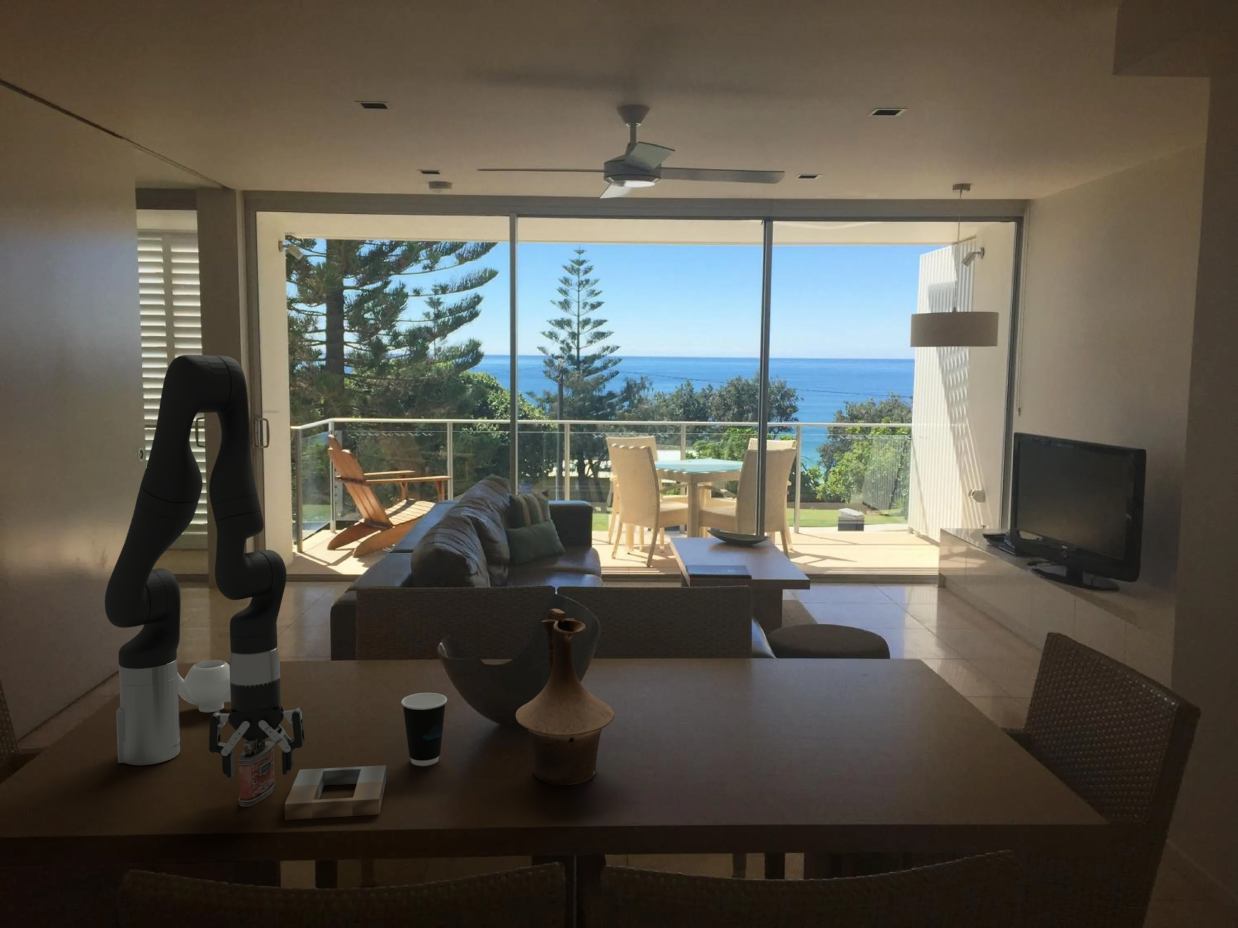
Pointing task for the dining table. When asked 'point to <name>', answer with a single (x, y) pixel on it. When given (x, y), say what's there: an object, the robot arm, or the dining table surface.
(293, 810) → the tan flat square frame
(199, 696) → the teapot
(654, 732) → the dining table surface
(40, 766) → the dining table surface
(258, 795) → the lighter
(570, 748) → the pitcher
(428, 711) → the dixie cup
